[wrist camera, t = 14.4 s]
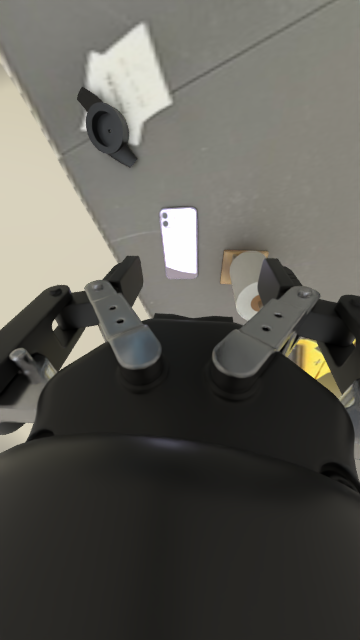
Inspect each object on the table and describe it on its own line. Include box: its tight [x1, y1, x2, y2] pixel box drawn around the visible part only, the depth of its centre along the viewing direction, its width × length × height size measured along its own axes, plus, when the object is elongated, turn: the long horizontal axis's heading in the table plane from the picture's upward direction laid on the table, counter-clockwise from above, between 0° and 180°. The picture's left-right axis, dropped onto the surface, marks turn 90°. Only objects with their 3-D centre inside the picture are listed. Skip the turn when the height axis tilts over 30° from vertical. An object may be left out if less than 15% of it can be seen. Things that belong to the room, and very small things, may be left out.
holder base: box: [220, 250, 269, 284], centre depth 43 cm, size 8×9×5 cm
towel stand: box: [230, 251, 266, 321], centre depth 32 cm, size 23×7×7 cm
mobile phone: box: [159, 207, 198, 279], centre depth 43 cm, size 8×1×15 cm
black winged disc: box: [77, 87, 137, 167], centre depth 32 cm, size 8×10×3 cm
